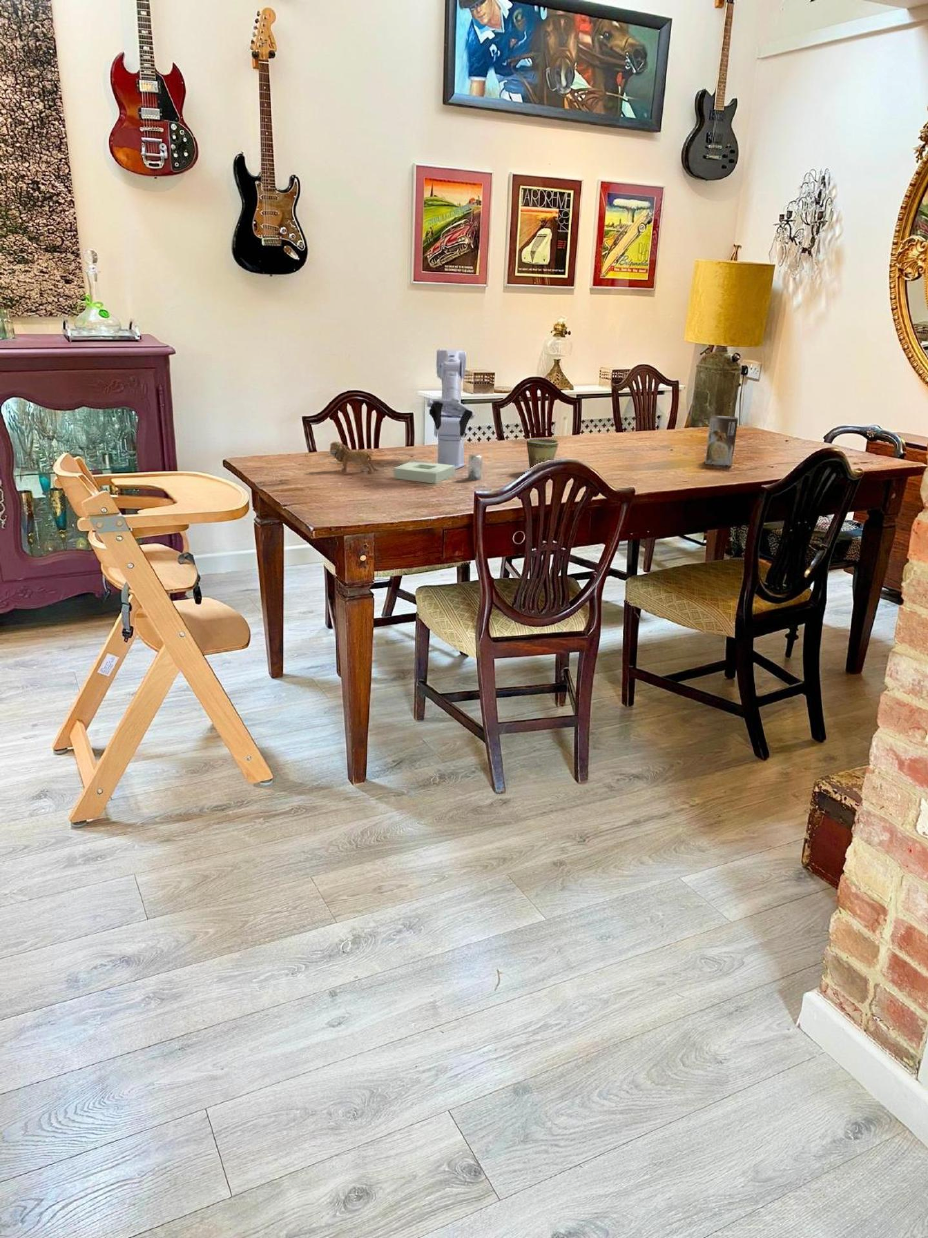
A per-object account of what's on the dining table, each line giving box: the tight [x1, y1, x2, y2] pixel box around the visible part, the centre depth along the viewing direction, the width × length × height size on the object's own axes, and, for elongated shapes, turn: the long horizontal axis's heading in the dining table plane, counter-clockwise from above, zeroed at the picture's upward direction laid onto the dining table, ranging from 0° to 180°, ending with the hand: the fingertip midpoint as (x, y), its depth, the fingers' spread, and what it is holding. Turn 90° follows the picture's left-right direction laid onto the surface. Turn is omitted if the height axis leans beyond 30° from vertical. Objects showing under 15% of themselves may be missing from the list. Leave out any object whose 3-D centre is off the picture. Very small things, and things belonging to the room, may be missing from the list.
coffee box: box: [704, 414, 739, 467], centre depth 302 cm, size 9×6×16 cm
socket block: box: [392, 460, 456, 484], centre depth 264 cm, size 14×14×3 cm
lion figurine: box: [329, 441, 378, 475], centre depth 266 cm, size 15×5×9 cm, turn 90°
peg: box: [467, 453, 483, 481], centre depth 264 cm, size 4×4×7 cm
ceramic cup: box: [526, 437, 559, 469], centre depth 277 cm, size 13×10×10 cm
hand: (450, 430), depth 256 cm, fingers open, 7 cm apart
